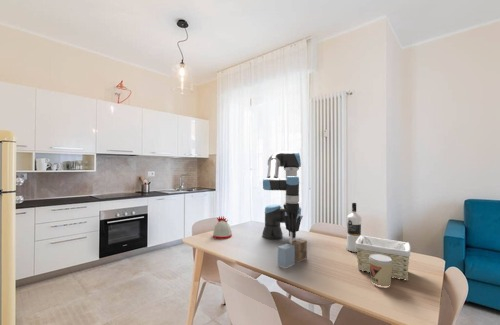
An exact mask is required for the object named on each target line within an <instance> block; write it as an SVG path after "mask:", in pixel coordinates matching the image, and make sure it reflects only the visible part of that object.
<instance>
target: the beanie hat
mask: <svg viewBox="0 0 500 325" xmlns="http://www.w3.org/2000/svg"><path fill="white" fill-rule="evenodd" d="M216 219H217V221H218V222H217V224H216V225H215V226H214V229H213V234H212V235H213V236H212V237H213V238H214V239H217V240H226V239H231V238H232V237H233V233H232V232H233V231H232V229H231V226H230V224H229V222H228V221H229V219H227V217H225V216H222V215H221V216H220V215H219V217H217V218H216ZM226 219H227V220H226Z"/></svg>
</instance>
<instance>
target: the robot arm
mask: <svg viewBox="0 0 500 325" xmlns="http://www.w3.org/2000/svg"><path fill="white" fill-rule="evenodd" d="M301 166H302V162H301V155H300V153H299V152H298V151H277V152H275V153H273V154H272V155H270V157H269V158H268V159H267V167H268V168H267V173H266V174H267V176H266V178H263V180H262V190H264V191H283V192H284V191H285V202H284V203H283V206H281V204H270V205H267V206H266V207H265V208H264V227H263V231H262V235H261V236H262V237H263V238H265V239H268V240H280V239H282V238H283V237H284V234H283V231H282V227H281V224H285V230H287V231H288V237H289V244H291V242H293V241H295V240H296V236H297V235H296V233H297V232H299V231H300V226H301V222H302V220H303V219H302V218H303V215H302V207H301V206H300V203H299V202H300V177H299V176H298V171H299V169H300V167H301ZM280 167H281V168H283V170H284V171H285V178H279V172H280V171H279V169H280Z"/></svg>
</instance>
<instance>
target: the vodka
mask: <svg viewBox="0 0 500 325" xmlns="http://www.w3.org/2000/svg"><path fill="white" fill-rule="evenodd" d="M346 223H347V224H346V225H347V228H346V230H347V231H346V232H347V233H346V236H347V238H346V244H345V249H346V250H347V251H348V250H349V252H350V251H352V252H351V253H356V252H357V249H356V244H355V242H356V241H357V239H358V238H359V237H360V236H361V235H362V217H361V215H359V213H357V203H356V202H351V212H350V213H349V214H347V217H346Z"/></svg>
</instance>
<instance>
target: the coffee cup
mask: <svg viewBox="0 0 500 325" xmlns="http://www.w3.org/2000/svg"><path fill="white" fill-rule="evenodd" d="M369 259H370V273H369V274H370V282H371V281H372V282H373V283H375V284H377V285H381V286H389V285H390V286H391V285H392V284H391V282H392V278H391V273H392V263H393V261H392V259H391V258H390V257H388V256H385V255H381V254H371V255H370V257H369Z"/></svg>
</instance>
